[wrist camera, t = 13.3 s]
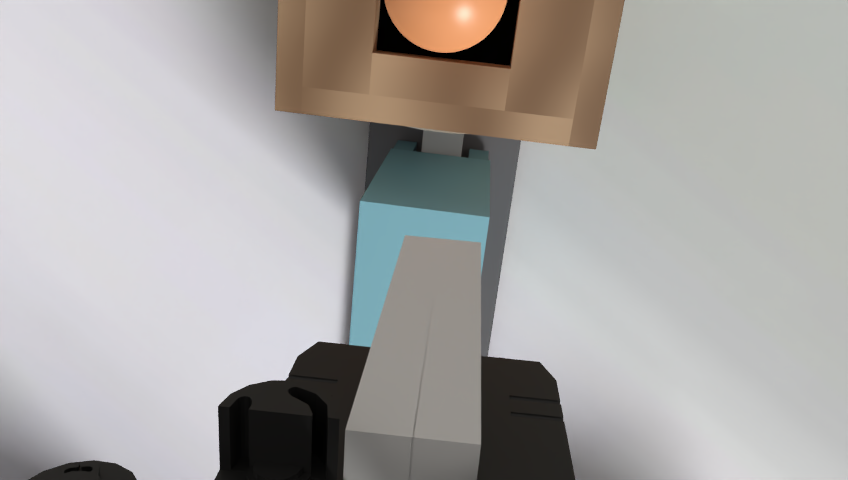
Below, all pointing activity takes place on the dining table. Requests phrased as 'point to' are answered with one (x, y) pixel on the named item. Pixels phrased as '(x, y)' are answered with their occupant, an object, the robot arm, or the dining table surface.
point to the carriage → (413, 219)
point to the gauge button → (445, 21)
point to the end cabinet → (452, 72)
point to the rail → (501, 191)
